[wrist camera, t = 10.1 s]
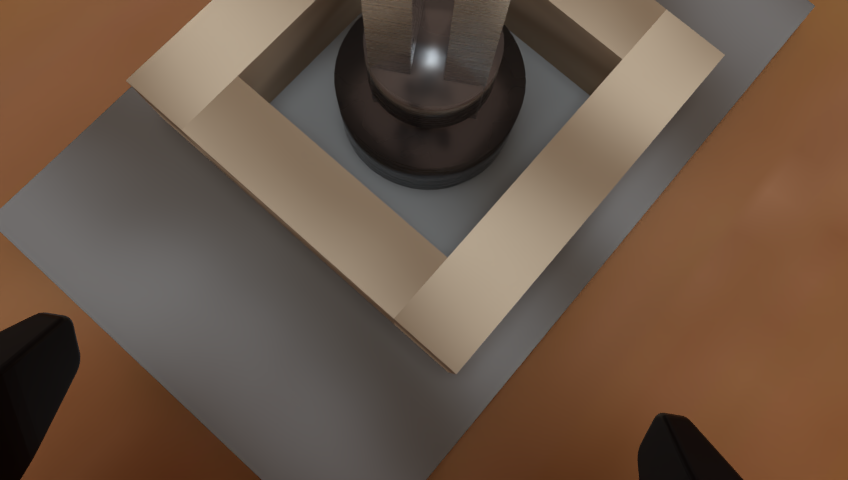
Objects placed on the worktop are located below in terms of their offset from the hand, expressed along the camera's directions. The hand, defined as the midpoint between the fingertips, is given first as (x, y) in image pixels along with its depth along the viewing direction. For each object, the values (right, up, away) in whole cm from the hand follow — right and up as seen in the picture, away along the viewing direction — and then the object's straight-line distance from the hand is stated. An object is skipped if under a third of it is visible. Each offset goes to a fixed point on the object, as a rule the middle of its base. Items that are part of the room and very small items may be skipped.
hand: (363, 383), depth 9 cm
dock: (+1, +6, +10) cm, 12 cm away
